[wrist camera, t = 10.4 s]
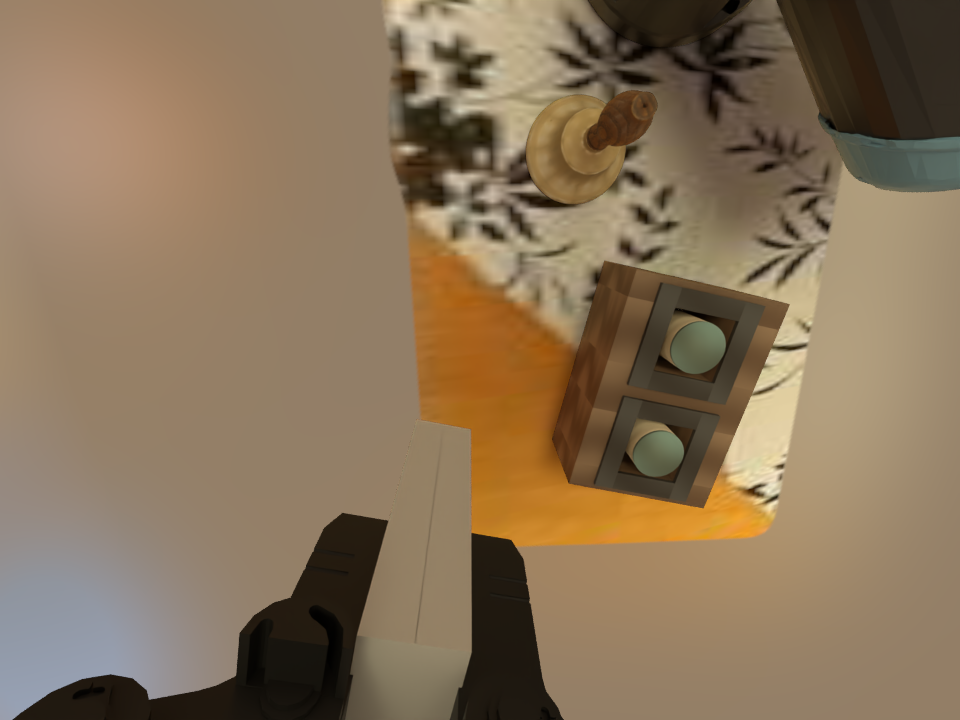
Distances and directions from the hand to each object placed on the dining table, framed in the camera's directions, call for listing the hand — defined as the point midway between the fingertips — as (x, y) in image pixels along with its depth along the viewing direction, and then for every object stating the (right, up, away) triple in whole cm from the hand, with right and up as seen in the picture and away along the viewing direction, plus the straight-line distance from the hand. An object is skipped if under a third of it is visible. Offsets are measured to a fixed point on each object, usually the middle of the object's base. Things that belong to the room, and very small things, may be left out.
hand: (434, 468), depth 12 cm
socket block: (+16, +2, +30) cm, 35 cm away
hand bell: (+9, +20, +25) cm, 34 cm away
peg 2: (+17, +6, +29) cm, 34 cm away
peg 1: (+15, -2, +31) cm, 35 cm away
